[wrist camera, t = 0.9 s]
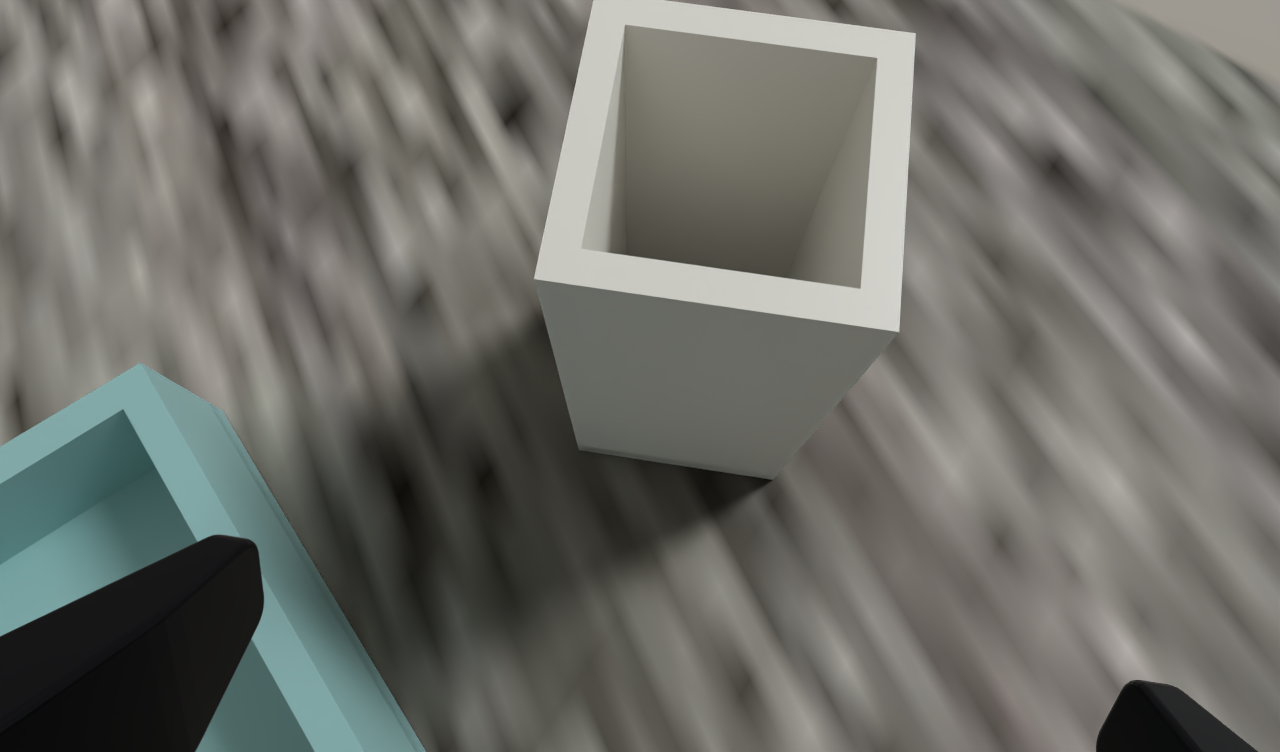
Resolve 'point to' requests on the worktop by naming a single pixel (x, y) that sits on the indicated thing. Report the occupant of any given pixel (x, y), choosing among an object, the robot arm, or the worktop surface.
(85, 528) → the crate
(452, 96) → the worktop surface
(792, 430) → the white hollow square box
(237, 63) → the worktop surface
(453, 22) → the worktop surface
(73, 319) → the worktop surface
